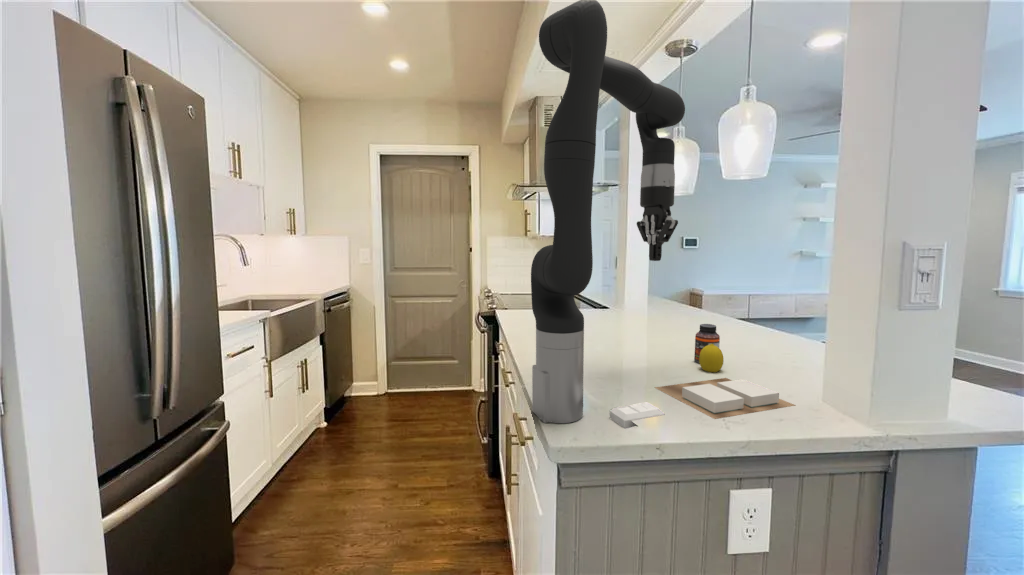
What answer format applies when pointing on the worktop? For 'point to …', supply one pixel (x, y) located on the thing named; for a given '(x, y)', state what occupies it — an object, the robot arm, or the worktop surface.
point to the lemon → (711, 358)
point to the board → (676, 393)
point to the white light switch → (634, 413)
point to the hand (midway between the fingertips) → (655, 260)
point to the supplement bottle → (705, 339)
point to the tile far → (750, 392)
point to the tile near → (712, 398)
